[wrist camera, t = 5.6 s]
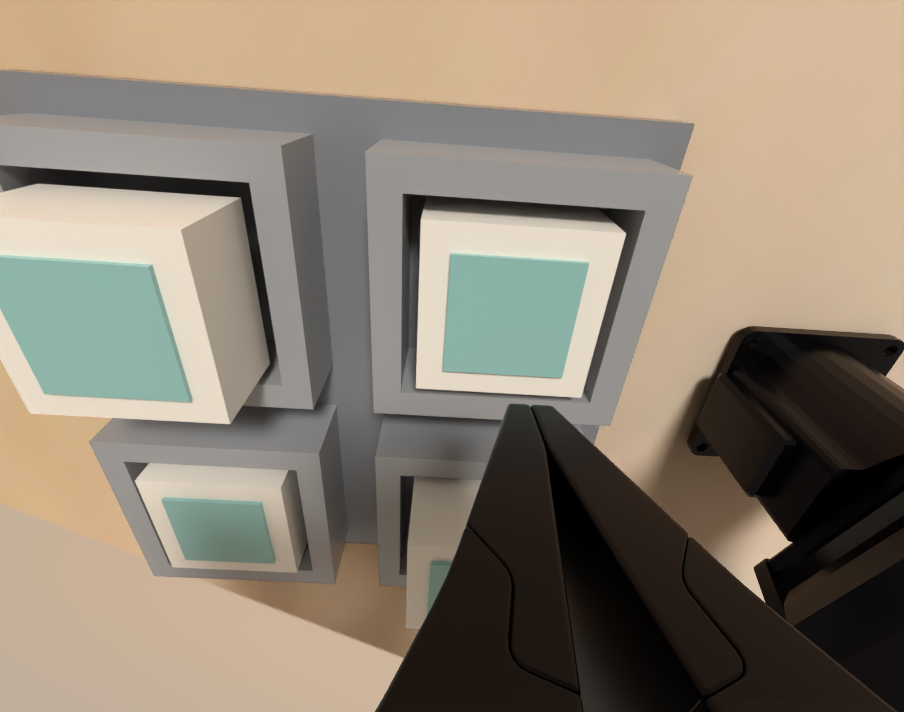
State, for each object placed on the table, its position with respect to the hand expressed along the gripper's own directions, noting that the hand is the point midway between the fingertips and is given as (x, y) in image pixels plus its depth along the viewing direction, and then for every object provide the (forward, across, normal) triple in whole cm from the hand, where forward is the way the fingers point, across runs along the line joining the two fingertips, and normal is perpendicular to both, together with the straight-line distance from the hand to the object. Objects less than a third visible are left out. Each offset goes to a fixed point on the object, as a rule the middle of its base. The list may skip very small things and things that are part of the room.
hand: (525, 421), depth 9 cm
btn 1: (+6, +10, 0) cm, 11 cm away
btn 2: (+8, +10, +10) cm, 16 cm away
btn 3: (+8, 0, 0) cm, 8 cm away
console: (+9, +5, +5) cm, 11 cm away
